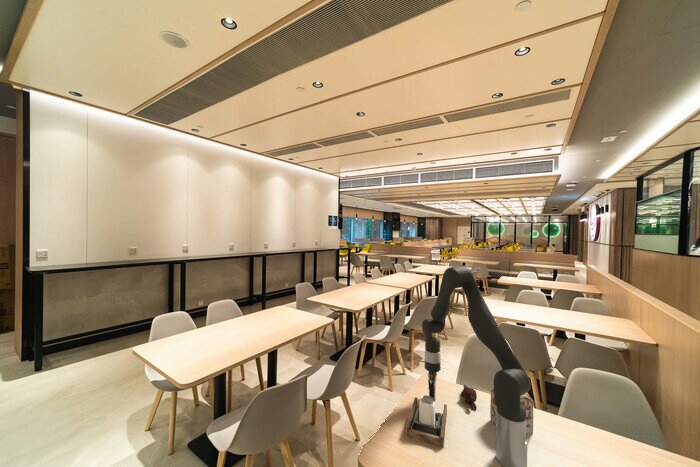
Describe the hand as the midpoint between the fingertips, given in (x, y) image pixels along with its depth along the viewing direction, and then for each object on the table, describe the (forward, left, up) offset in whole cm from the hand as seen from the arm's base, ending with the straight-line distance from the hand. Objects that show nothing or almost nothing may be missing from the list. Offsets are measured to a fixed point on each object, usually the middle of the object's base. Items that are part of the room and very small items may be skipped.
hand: (432, 394), depth 135 cm
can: (0, +20, -3) cm, 21 cm away
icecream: (-17, -7, -3) cm, 18 cm away
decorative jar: (-33, +5, -3) cm, 34 cm away
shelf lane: (0, +18, -3) cm, 18 cm away
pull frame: (0, +12, -3) cm, 12 cm away
